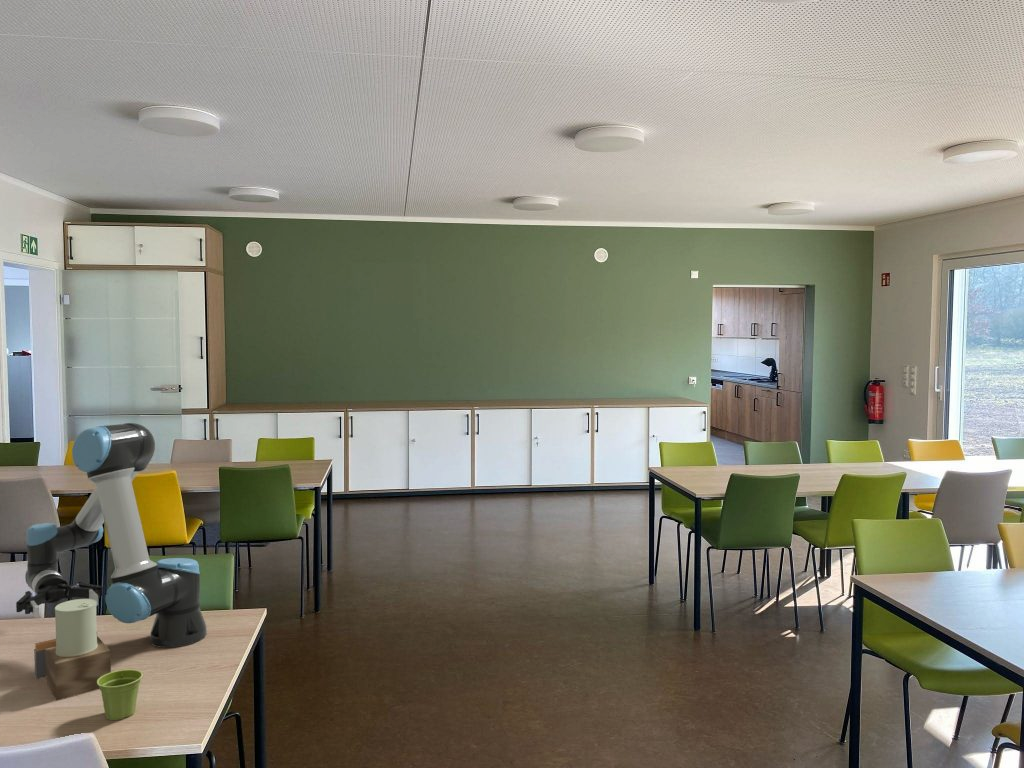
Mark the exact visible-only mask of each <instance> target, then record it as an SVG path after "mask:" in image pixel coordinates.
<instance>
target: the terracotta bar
mask: <svg viewBox="0 0 1024 768" xmlns="http://www.w3.org/2000/svg"><path fill="white" fill-rule="evenodd" d="M34 645H35V647H34V649H35V650H36V651H40V650H45V649H47V648H51V647H55V646H56V638H53V639H48V640H44V641H41V642H35V643H34Z"/></svg>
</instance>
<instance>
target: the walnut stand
mask: <svg viewBox="0 0 1024 768" xmlns="http://www.w3.org/2000/svg"><path fill="white" fill-rule="evenodd" d="M97 644H98V647H97V648H96V649H95V650H94V651H92V652H90V653H87V654H84V655H80V656H75V657H60V656H57V655H56V653H55V652H56V646H55V647H51V648H47V649H45V663H46V677H45V684H46V686H47V687H49V688H48V689H49V690H50V693H51V694H52V695H53V698H54V699H55V701H59V700H64V699H68V698H72V697H74V695H75V696H78V694H79V695H82V694H86V693H90V692H92V691H97V690H100V688H99V686H98V685H97V680H98V679H99V678H100V677H101V676H103V675H105V674H108V673H111V672H112V667H111V665H112V664H111V662H112V660H111V659H112V658H111V657H112V655H111V650H110V649H109V647H108V646H107V645H106V644H105V643H104V641H102V640H101V638H100V637H99V636H98V637H97ZM67 697H68V698H67ZM63 698H64V699H63Z"/></svg>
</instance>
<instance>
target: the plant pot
mask: <svg viewBox="0 0 1024 768" xmlns="http://www.w3.org/2000/svg"><path fill="white" fill-rule="evenodd" d="M143 676H144V674H143V672H142V671H140V670H138V669H131V668H130V669H121V670H115V671H111V673H108V674H105V675H103V676H101V677H100V678H99V679H98V680H97V685H98V686H99V688H100V689H99V690H100V692H101V696H102V697H101V698H102V704H103V709H104V715H105V718H107V720H110V721H117V720H118V721H119V720H122V719H124V718H126V717H131V716H133V715H134V714H135V712H136V708H137V707H136V706H137V701H138V700H137V699H138V693H139V687H140V683H141V679H142V678H143Z"/></svg>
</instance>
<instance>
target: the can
mask: <svg viewBox="0 0 1024 768" xmlns="http://www.w3.org/2000/svg"><path fill="white" fill-rule="evenodd" d="M96 603H97V602H96V601H95V600H93V599H89V598H78V599H77V598H76V599H72V600H71V599H70V600H67V601H62V602H61V603H58V604H57V605H56V606H55V607H54V615H55V639H56V652H55V653H56V655H57V656H60V657H75V656H80V655H84V654H87V653H90V652H92V651H94V650H95V649H96V648H97V647H98V644H97V636H98V631H97V629H98V628H97V606H96Z"/></svg>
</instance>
